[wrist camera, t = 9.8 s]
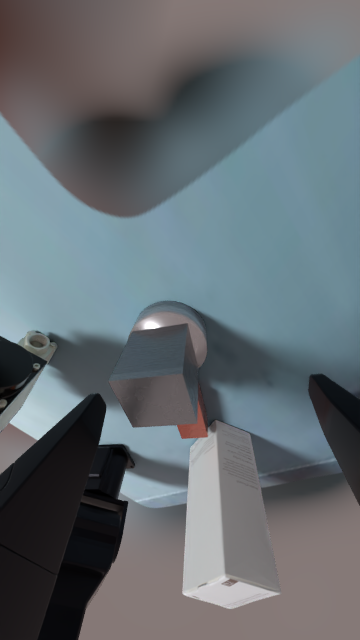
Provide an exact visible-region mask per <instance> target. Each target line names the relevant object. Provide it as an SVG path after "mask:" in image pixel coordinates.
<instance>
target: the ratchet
mask: <svg viewBox="0 0 360 640" xmlns="http://www.w3.org/2000/svg"><path fill="white" fill-rule="evenodd" d="M185 323H188V327H189V331H190V335H191V339H192V343H193V347H194V351H195V355H196V359H197V363H198V369H199V368H200V367H201V365H202V364H203V362H204V361H205V358H206V355H207V332H206V326H205V323H204V321H203V319H202V318H201V316H200V315H199V314H198V313H197V312H196V311H195V310H194V309H192V308H191V307H189V306H187V305H185V304H183V303H180V302H175V301H161V302H157V303H154V304H152V305H150V306H148V307H147V308H145V309H144V310H143V311H142V312H141V313H140V315H139V316H138V318H137V320H136V322H135V324H134V326H133V328H132V330H131V332H130V335H131V333H132V331H138V330H145V329H152V328H158V327H165V326H172V325H179V324H185ZM130 335H129V337H130ZM128 339H129V338H128ZM177 427H178V429H179V432H180V435H181V438H182V439H183V438H206V437H208V417H207V413H206V409H205V405H204V401H203V397H202V393H201V389H200V385H199V382H198V416H197V424H183V425H177Z"/></svg>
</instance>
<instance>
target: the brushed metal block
mask: <svg viewBox="0 0 360 640" xmlns="http://www.w3.org/2000/svg"><path fill="white" fill-rule="evenodd" d="M108 382H109V384H110V386H111V388H112V389H113V391H114V393H115V395H116V397H117V399H118V401H119V402H120V404H121V406H122V408H123V410H124V412H125V414H126V415H127V417H128V419H129V421H130V423H131V425H132V426H133V427H150V426H167V425H183V424H197V416H198V363H197V359H196V355H195V351H194V347H193V343H192V339H191V335H190V331H189V327H188V323H185V324H179V325H172V326H165V327H158V328H152V329H145V330H138V331H132V333H131V335H130V337H129V339H128V342H127V344H126V346H125V348H124V350H123V352H122V354H121V356H120V358H119V360H118V362H117V364H116V366H115V368H114V370H113V372H112V374H111V376H110V379H109V381H108Z"/></svg>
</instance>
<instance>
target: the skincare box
mask: <svg viewBox="0 0 360 640" xmlns="http://www.w3.org/2000/svg"><path fill="white" fill-rule="evenodd" d="M183 594H184V595H185V596H188V597H192V598H195V599H198V600H202V601H206V602H210V603H213V604H217V605H219V606H222V607H225V608H229V609H233V608H235V607H239V606H241V605H245V604H247V603H251V602H254V601H257V600H260V599H264V598H267V597H271V596H274V595H278V594H281V589H280V584H279V579H278V574H277V569H276V564H275V558H274V553H273V549H272V544H271V539H270V534H269V529H268V523H267V518H266V513H265V507H264V503H263V497H262V492H261V487H260V482H259V477H258V471H257V466H256V461H255V456H254V451H253V446H252V441H251V436H250V434H249V433H248V432H245V431H243V430H240V429H238V428H235V427H233V426H230V425H228V424H225V423H223V422H220V421H218V420H215V421H214V422H213V423H212V424H211V425H210V426H209V427H208V437H206V438H199V439H198V440H197V441H196V442H195V443H194V444H193V445H192V446H191V448H190V462H189V481H188V498H187V519H186V537H185V555H184V575H183Z"/></svg>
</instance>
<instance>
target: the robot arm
mask: <svg viewBox="0 0 360 640" xmlns="http://www.w3.org/2000/svg"><path fill="white" fill-rule="evenodd" d="M308 392H309V396H310V398H311V401H312V404H313V406H314V409H315V412H316V414H317V417H318V420H319V423H320V425H321V428H322V430H323V433H324V435H325V437H326V439H327V442H328V444H329V446H330V448H331V450H332V452H333V454H334V456H335V458H336V460H337V462H338V464H339V466H340V467H341V469H342V471H343V473H344V475H345V477H346V479H347V481H348V483H349V485H350V487H351V489H352V491H353V493H354V495H355V497H356V499H357V501H358V503H359V505H360V400H359V399H358V398H357V397H355V396H354V395H352V394H351V393H349V392H348V391H346V390H345V389H344V388H342V387H341V386H339V385H338V384H336V383H335V382H334V381H332V380H331V379H329V378H328V377H326V376H325V375H323V374H312V375H310V377H309V387H308ZM105 413H106V404H105V402H104V400H103V399H102V397H101V395H100V394H99V393H95V394H90V395H88V396H87V397H86V398H85V399H84V400H83V401H82V402H80V403H79V404H78V405H77V406H76V407H75V408H74V409H73V410H72V411H70V412H69V413H68V414H67V415H66V416H65V417H64V418H63V419H62V420H60V421H59V422H58V423H57V424H56V425H55V426H54V427H53V428H52V429H50V430H49V431H48V432H47V433H46V434H45V435H44V436H43V437H42V438H40V439H39V440H38V441H37V442H36V443H35V444H34V445H33V446H32V447H30V448H29V449H28V450H27V451H26V452H25V453H24V454H23V455H22V456H21V457H19V458H18V459H17V460H16V461H15V463H13V464H11V465H10V466H9V467H8V468H7V469H6V470H5V471H4V472H3V473H1V474H0V640H78V638H79V634H80V630H81V626H82V622H83V618H84V614H85V610H86V608H87V607H88V605H89V604H90V602H91V601H92V599H93V598H94V596H95V595H96V593H97V592H98V590H99V588H100V586H101V585H102V583H103V581H104V579H105V577H106V575H107V573H108V571H109V570H110V567H111V564H112V563H114V561H115V559H116V557H117V554H118V551H119V547H120V544H121V539H122V535H123V529H124V523H125V517H126V512H127V506H128V501H122V500H118V496H119V492H120V489H121V485H122V481H123V477H124V474H125V470H126V468H134V467H135V464H134V462H133V460H132V459H131V457H130V455H129V454H128V452H127V450H126V449H125V447H124V446H123V445H104V446H98V445H99V441H100V437H101V432H102V427H103V423H104V418H105Z"/></svg>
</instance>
